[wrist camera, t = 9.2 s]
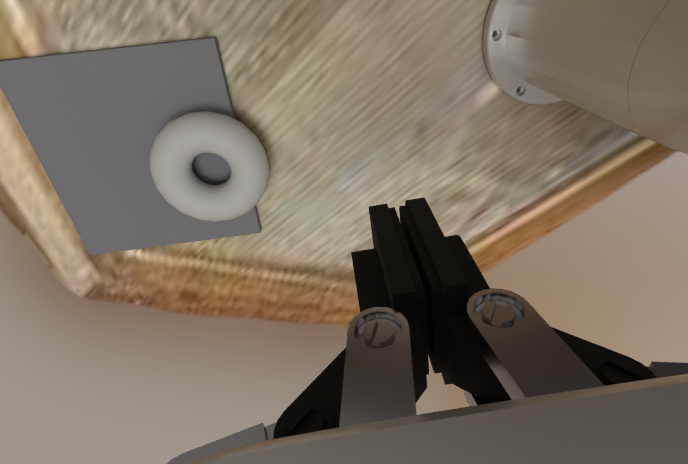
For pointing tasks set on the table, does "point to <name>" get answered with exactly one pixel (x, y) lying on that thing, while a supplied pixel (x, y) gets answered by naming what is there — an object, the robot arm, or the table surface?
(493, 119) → the table surface
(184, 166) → the donut
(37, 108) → the mat
